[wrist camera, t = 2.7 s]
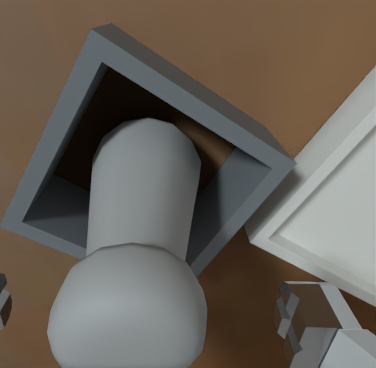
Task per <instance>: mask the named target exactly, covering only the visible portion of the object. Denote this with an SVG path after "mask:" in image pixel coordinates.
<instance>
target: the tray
mask: <svg viewBox="0 0 376 368" xmlns="http://www.w3.org/2000/svg"><path fill="white" fill-rule="evenodd" d="M294 161H295V162H296V163H297V164H296V165H295V167H294V168H293V169H292V170H291V171H290V172H289V173H288V174H287V176H286V177H285V178H284V179H283V180H282V181H281V182H280V184H279V185H278V186H277V187H276V188H275V189H274V190H273V191H272V193H271V194H270V195H269V196H268V197H267V198H266V199H265V201H264V202H263V203H262V204H261V205H260V206H259V207H258V208H257V210H256V211H255V212H254V213H253V214H252V215H251V216H250V218H249V219H248V220H247V221H246V222H245V223H244V224H243V225H244V228H245V231H246V233H247V236H248V239H249V242H250V243H252V244H254V245H256V246H258V247H260V248H262V249H263V250H265V251H267V252H269V253H271V254H273V255H275V256H277V257H279V258H281V259H283V260H285V261H287V262H289V263H291V264H293V265H295V266H297V267H299V268H301V269H303V270H305V271H307V272H309V273H310V274H312V275H314V276H316V277H318V278H320V279H322V280H324V281H326V282H333V283H334V284H335V285H336V286H337V287H338V288H340V289H342V290H344V291H346V292H348V293H350V294H352V295H354V296H355V297H357V298H359V299H361V300H363V301H365V302H367V303H369V304H371V305H373V306H375V307H376V66H375V67H374V68H373V69H372V70H371V71H370V72H369V74H368V75H367V76H366V77H365V78H364V79H363V80H362V82H361V83H360V84H359V85H358V86H357V87H356V88H355V90H354V91H353V92H352V93H351V94H350V95H349V96H348V98H347V99H346V100H345V101H344V102H343V103H342V105H341V106H340V107H339V108H338V109H337V110H336V111H335V113H334V114H333V115H332V116H331V117H330V118H329V119H328V121H327V122H326V123H325V124H324V125H323V126H322V127H321V129H320V130H319V131H318V132H317V133H316V134H315V136H314V137H313V138H312V139H311V140H310V141H309V142H308V144H307V145H306V146H305V147H304V148H303V149H302V150H301V152H300V153H299V154H298V155H297V156H296V157H295V158H294Z"/></svg>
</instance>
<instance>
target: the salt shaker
mask: <svg viewBox="0 0 376 368" xmlns="http://www.w3.org/2000/svg"><path fill="white" fill-rule="evenodd" d="M200 169H201V161H200V158H199V156H198V154H197V152H196V149H195V147H194V145H193V143H192V141H191V140H190V138H188V137H187V136H186V135H185V134H184V133H183V132H182V131H180V130H179V129H178V128H177V127H176V126H175V125H174V124H172V123H169V122H165V121H161V120H157V119H153V118H149V117H146V118H141V119H135V120H129V121H124V122H122V123H121V124H120V125H118V126H117V127H116V128H114V129H113V130H112V131H110V132H109V133H108V134H106V135H105V136H104V137H103V138H102V140H101V142H100V144H99V146H98V149H97V151H96V153H95V155H94V157H93V162H92V177H91V192H90V206H89V221H88V236H87V250H86V257H85V258H83V259H82V260H80V261H79V262H77V263H76V264H75V265H74V266H73V267H72V268H71V270H70V272H69V273H68V275H67V277H66V279H65V281H64V283H63V285H62V286H61V288H60V290H59V292H58V294H57V297H56V299H55V301H54V304H53V306H52V308H51V311H50V318H49V324H48V331H47V334H48V338H49V342H50V346H51V350H52V353H53V356H54V357H55V359H56V360H57V361H58V363H59V364H60V366H61V367H62V368H188V367H189V366H190V365H191V364H192V363H193V362H194V360H195V359H196V358H197V357H198V356H199V355H200V354H201V353H202V351H203V346H204V340H205V334H206V324H207V305H206V300H205V296H204V291H203V289H202V287H201V286H200V284H199V282H198V280H197V279H196V277H195V275H194V273H193V272H192V270H191V268H190V267H189V265H188V264H187V263H186V262H185V259H186V253H187V246H188V240H189V234H190V228H191V222H192V216H193V210H194V204H195V199H196V194H197V189H198V184H199V177H200Z"/></svg>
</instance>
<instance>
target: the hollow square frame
mask: <svg viewBox="0 0 376 368" xmlns="http://www.w3.org/2000/svg"><path fill="white" fill-rule="evenodd" d="M108 67H111V68H113V69H114V70H116V71H117V72H119V73H121V74H122V75H124V76H125V77H127V78H129V79H130V80H132V81H133V82H135V83H137V84H138V85H140V86H141V87H143V88H145V89H146V90H148V91H149V92H151V93H153V94H154V95H156V96H157V97H159V98H160V99H162V100H164V101H165V102H167V103H168V104H170V105H172V106H173V107H175V108H176V109H178V110H180V111H181V112H183V113H184V114H186V115H188V116H189V117H191V118H192V119H194V120H196V121H197V122H199V123H200V124H202V125H204V126H205V127H207V128H208V129H210V130H212V131H213V132H215V133H216V134H218V135H219V136H221V137H223V138H224V139H226V140H227V141H229V142H231V143H232V144H234V145H235V146H236V148H235V149H234V150H233V151H232V153H231V154H230V155H229V157H228V158H227V159H226V161H225V162H224V163H223V165H222V166H221V167H220V168H219V170H218V171H217V172H216V174H215V175H214V176H213V178H212V179H211V180H210V181H209V183H208V184H207V185H206V187H205V188H204V189H203V191H202V192H201V193H200V194H199V196H198V197H197V198H196V200H195V204H194V210H193V216H192V222H191V228H190V234H189V240H188V246H187V253H186V259H185V262H186V263H187V264H188V265H189V267H190V268H191V270H192V272H193V273H194V275H195V277H196V278H197V276H198V275H199V274H200V273H201V272H202V271H203V270H204V269H205V267H206V266H207V265H208V264H209V263H210V262H211V261H212V259H213V258H214V257H215V256H216V255H217V254H218V253H219V252H220V250H221V249H222V248H223V247H224V246H225V245H226V244H227V242H228V241H229V240H230V239H231V238H232V237H233V236H234V235H235V233H236V232H237V231H238V230H239V229H240V228H241V227H242V225H243V224H244V223H245V222H246V221H247V220H248V219H249V218H250V216H251V215H252V214H253V213H254V212H255V211H256V210H257V208H258V207H259V206H260V205H261V204H262V203H263V202H264V201H265V199H266V198H267V197H268V196H269V195H270V194H271V193H272V191H273V190H274V189H275V188H276V187H277V186H278V185H279V184H280V182H281V181H282V180H283V179H284V178H285V177H286V176H287V174H288V173H289V172H290V171H291V170H292V169H293V168H294V167H295V165H296V164H297V163H296V162H295V161H294V160H293V159H292V157H291V156H290V155H289V154H288V153H287V152H286V150H285V149H284V148H283V147H282V146H281V145H280V143H279V142H278V141H277V140H276V139H275V138H274V137H273V135H272V134H271V133H270V132H269V131H268V130H267V128H266V127H264V126H263V125H261V124H260V123H258V122H257V121H255V120H254V119H252V118H251V117H249V116H248V115H246V114H245V113H243V112H242V111H240V110H239V109H237V108H236V107H234V106H233V105H232V104H230V103H229V102H227V101H226V100H224V99H223V98H221V97H220V96H218V95H217V94H215V93H214V92H212V91H211V90H209V89H208V88H206V87H205V86H203V85H202V84H201V83H199V82H198V81H196V80H195V79H193V78H192V77H190V76H189V75H187V74H186V73H184V72H183V71H181V70H180V69H178V68H177V67H175V66H174V65H172V64H171V63H170V62H168V61H167V60H165V59H164V58H162V57H161V56H159V55H158V54H156V53H155V52H153V51H152V50H150V49H149V48H147V47H146V46H144V45H143V44H141V43H140V42H138V41H137V40H136V39H134V38H133V37H131V36H130V35H128V34H127V33H125V32H124V31H122V30H121V29H119V28H118V27H116V26H115V25H113V24H112V23H110V24H107V25H103V26H99V27H96V28H92V29H91V30H90V32H89V35H88V37H87V39H86V41H85V43H84V45H83V47H82V50H81V52H80V54H79V56H78V58H77V60H76V63H75V65H74V67H73V69H72V71H71V73H70V75H69V78H68V80H67V82H66V84H65V86H64V88H63V91H62V93H61V95H60V97H59V99H58V101H57V103H56V106H55V108H54V110H53V112H52V114H51V116H50V119H49V121H48V123H47V125H46V127H45V129H44V131H43V134H42V136H41V138H40V140H39V142H38V144H37V147H36V149H35V151H34V153H33V155H32V157H31V159H30V162H29V164H28V166H27V168H26V170H25V172H24V174H23V177H22V179H21V181H20V183H19V185H18V187H17V190H16V192H15V194H14V196H13V198H12V200H11V202H10V205H9V207H8V209H7V211H6V213H5V215H4V218H3V220H2V222H1V224H0V227H1V228H3V229H6V230H8V231H11V232H13V233H16V234H18V235H21V236H23V237H26V238H28V239H31V240H33V241H36V242H38V243H41V244H43V245H46V246H48V247H51V248H53V249H56V250H58V251H61V252H63V253H66V254H68V255H71V256H73V257H76V258H78V259H81V260H82V259H83V258H85V257H86V250H87V236H88V221H89V206H90V191H88V190H86V189H84V188H82V187H80V186H78V185H75V184H73V183H71V182H69V181H67V180H65V179H63V178H61V177H59V176H57V175H54V172H55V171H56V169H57V167H58V165H59V163H60V161H61V159H62V157H63V155H64V153H65V151H66V149H67V147H68V145H69V143H70V141H71V139H72V137H73V135H74V133H75V131H76V129H77V128H78V126H79V124H80V122H81V120H82V118H83V116H84V114H85V112H86V110H87V108H88V106H89V104H90V102H91V100H92V98H93V96H94V94H95V92H96V90H97V88H98V86H99V85H100V83H101V81H102V79H103V77H104V75H105V73H106V71H107V69H108Z"/></svg>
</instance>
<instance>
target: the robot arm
mask: <svg viewBox="0 0 376 368" xmlns="http://www.w3.org/2000/svg"><path fill="white" fill-rule="evenodd" d="M6 284H7V281H6V278H5V275H4V274H2V273H0V330H2V329H3V328H4V327H5V325H6V323H7V321H8V319H9V316H10V312H11V308H12V299H11V295H10V293H9V292H8V291H6V290H5V289H4V287H5V285H6ZM279 291H280V294H281V297H280V298H279V299H277V300H276V302H275V306H274V322H275V327H276V330H277V333H278V334H279V335H280V336H281V337H282V338H283V339H284V342H283V345H282V349H283V352H284V355H285V358H286V361H287V364H288V367H289V368H376V336H375V335H374V334H373V333H371V332H370V331H369V330H367V329H362V328H361V326H360V324H359V323H358V321H357V319H356V318H355V316H354V314H353V313H352V311H351V309H350V308H349V306H348V304H347V303H346V301H345V299H344V298H343V296H342V294H341V293H340V291H339V289H338V288H337V286H336V285H335V284H334V283H333V282H291V281H284V282H283V283H282V284H281V286H280V289H279Z"/></svg>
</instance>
